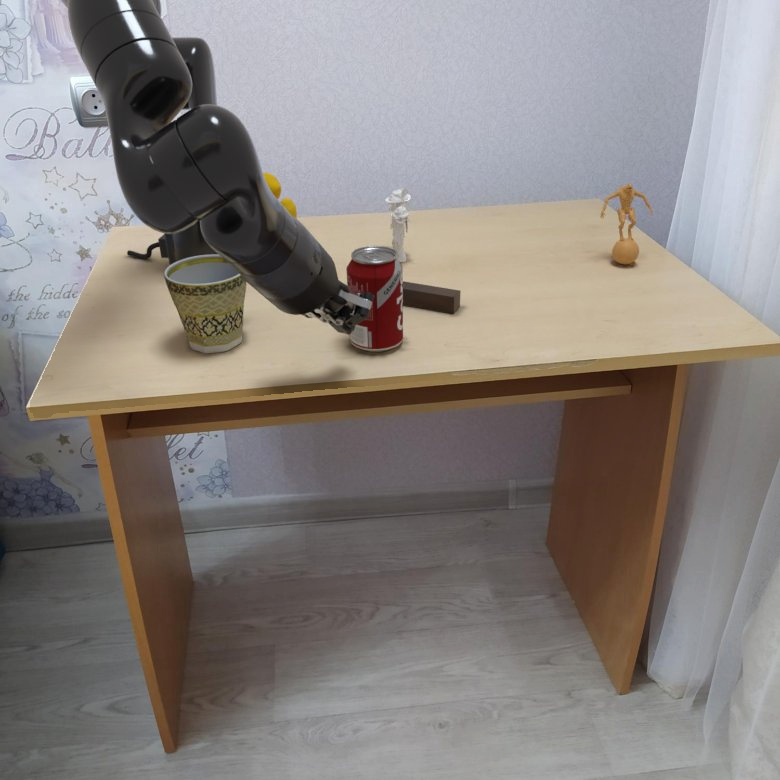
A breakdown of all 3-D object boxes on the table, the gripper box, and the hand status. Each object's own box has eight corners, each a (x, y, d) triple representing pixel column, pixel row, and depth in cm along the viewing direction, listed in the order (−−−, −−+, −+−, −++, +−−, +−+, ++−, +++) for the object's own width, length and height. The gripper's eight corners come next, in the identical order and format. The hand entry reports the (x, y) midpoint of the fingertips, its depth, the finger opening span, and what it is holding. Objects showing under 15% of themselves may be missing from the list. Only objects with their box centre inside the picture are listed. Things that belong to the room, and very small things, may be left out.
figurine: (603, 270, 118) (613, 192, 112) (588, 256, 123) (597, 181, 117) (654, 266, 119) (667, 189, 113) (638, 252, 124) (649, 178, 118)
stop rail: (460, 307, 107) (460, 290, 106) (453, 314, 105) (454, 297, 104) (382, 293, 111) (381, 277, 110) (374, 300, 109) (374, 283, 108)
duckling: (239, 228, 137) (232, 172, 132) (261, 221, 141) (255, 165, 136) (283, 241, 131) (278, 183, 126) (305, 233, 135) (301, 176, 129)
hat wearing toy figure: (413, 267, 120) (413, 191, 114) (388, 268, 120) (386, 192, 114) (408, 247, 128) (407, 175, 122) (384, 248, 127) (383, 176, 121)
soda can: (364, 360, 94) (360, 268, 88) (341, 338, 99) (336, 249, 93) (412, 347, 97) (412, 257, 91) (388, 327, 102) (386, 240, 96)
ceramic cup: (218, 367, 93) (206, 290, 88) (159, 348, 98) (145, 274, 93) (285, 326, 103) (278, 255, 97) (229, 310, 107) (220, 242, 102)
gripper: (213, 287, 75) (289, 345, 91) (332, 309, 70) (390, 366, 86) (238, 218, 77) (308, 287, 92) (356, 235, 72) (409, 305, 88)
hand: (348, 325), depth 89 cm, fingers closed
